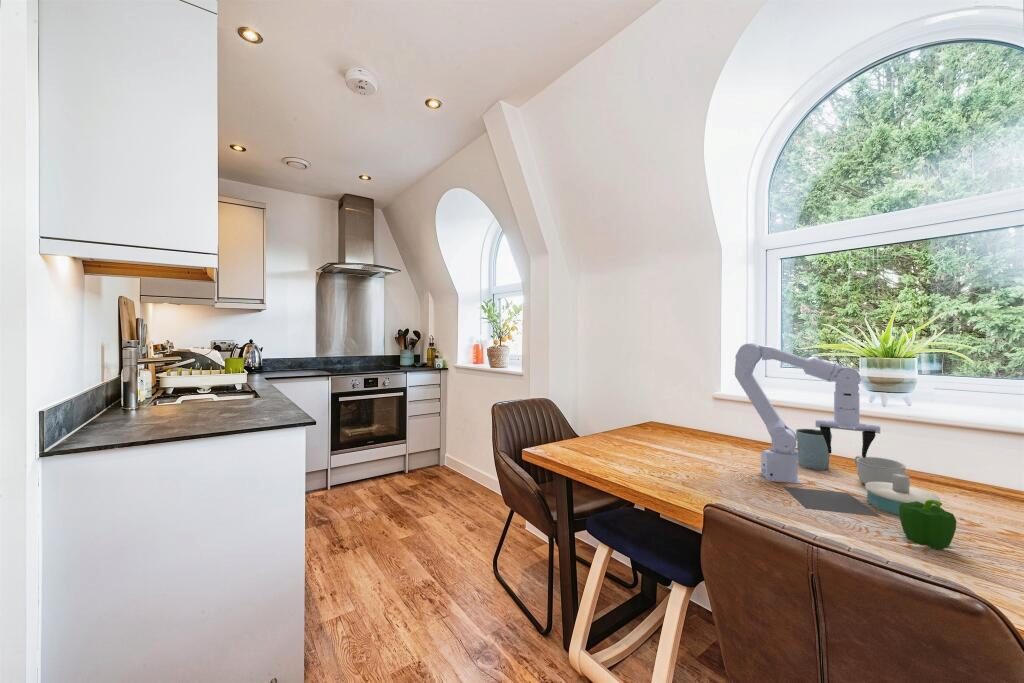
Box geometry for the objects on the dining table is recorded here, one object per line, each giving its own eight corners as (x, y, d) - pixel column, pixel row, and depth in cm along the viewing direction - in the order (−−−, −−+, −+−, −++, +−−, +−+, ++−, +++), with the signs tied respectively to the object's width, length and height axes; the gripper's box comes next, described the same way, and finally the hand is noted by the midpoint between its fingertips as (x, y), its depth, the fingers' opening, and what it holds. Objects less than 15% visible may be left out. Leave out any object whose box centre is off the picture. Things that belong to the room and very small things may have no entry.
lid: (883, 501, 100) (883, 481, 100) (854, 482, 114) (854, 465, 114) (955, 508, 96) (955, 488, 96) (916, 488, 110) (916, 470, 110)
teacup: (915, 496, 114) (915, 468, 114) (870, 493, 116) (871, 465, 116) (881, 479, 128) (881, 454, 128) (842, 477, 130) (842, 452, 130)
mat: (805, 510, 104) (805, 508, 104) (783, 488, 119) (783, 486, 119) (881, 518, 100) (881, 516, 100) (847, 494, 115) (847, 492, 115)
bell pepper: (890, 531, 93) (891, 488, 93) (935, 537, 90) (936, 492, 90) (914, 549, 85) (915, 502, 85) (965, 556, 82) (966, 507, 82)
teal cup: (829, 464, 143) (830, 430, 143) (833, 472, 134) (834, 436, 134) (794, 460, 148) (795, 427, 148) (796, 467, 140) (796, 432, 140)
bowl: (886, 516, 101) (886, 500, 101) (860, 498, 112) (860, 483, 112) (947, 522, 98) (947, 506, 98) (913, 503, 109) (913, 488, 109)
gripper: (815, 407, 119) (815, 453, 119) (881, 412, 111) (881, 462, 111) (815, 404, 125) (815, 448, 125) (878, 409, 116) (878, 456, 116)
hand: (846, 454), depth 118 cm, fingers open, 7 cm apart
